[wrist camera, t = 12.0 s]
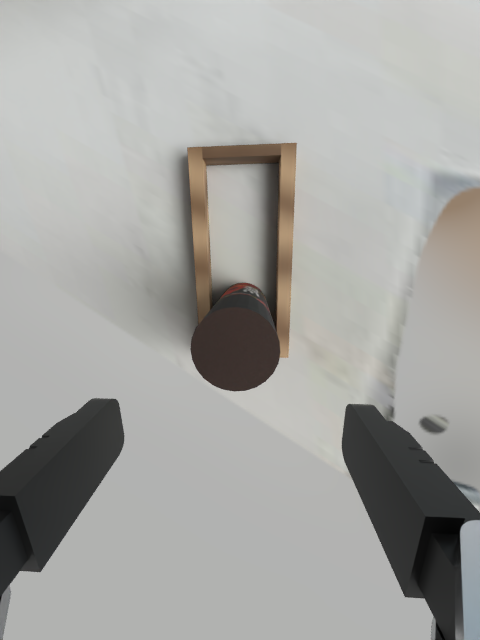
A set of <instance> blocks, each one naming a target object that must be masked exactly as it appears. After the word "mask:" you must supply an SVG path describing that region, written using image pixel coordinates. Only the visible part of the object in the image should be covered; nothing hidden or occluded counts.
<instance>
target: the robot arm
mask: <svg viewBox="0 0 480 640" xmlns="http://www.w3.org/2000/svg"><path fill="white" fill-rule="evenodd" d="M123 444H124V431H123V425H122V419H121V413H120V407H119V403H118V401H117V400H116V399H97V398H95V399H91V400H90V401H88V402H87V403H86V404H85V405H84V406H83V407H82V408H81V409H79V410H78V411H77V412H76V413H74V414H72V415H70V416H68V417H67V418H65V419H63V420H61V421H60V422H58V423H56V424H55V425H54V426H53V427H52V428H51V429H49V430H48V431H47V432H46V433H45V434H44V435H42V438H39V439H38V440H37V441H35V442H34V443H33V444H32V445H31V446H30V448H29V449H26V450H25V451H24V452H23V453H21V454H20V455H19V456H18V457H16V458H15V459H14V460H13V461H12V462H11V463H9V464H8V465H7V466H6V467H5V468H4V469H3V470H1V471H0V640H3V634H4V629H5V623H6V618H7V613H8V607H9V602H10V595H11V590H10V586H9V585H10V583H11V582H12V581H13V579H14V578H15V577H16V575H17V574H18V572H19V571H31V572H41V571H42V569H43V567H44V566H45V565H46V563H47V562H48V560H49V559H50V557H51V556H52V554H53V553H54V551H55V550H56V548H57V547H58V545H59V544H60V542H61V541H62V539H63V538H64V536H65V535H66V533H67V532H68V530H69V529H70V527H71V526H72V524H73V523H74V521H75V520H76V519H77V517H78V515H79V514H80V513H81V511H82V510H83V508H84V507H85V505H86V503H87V502H88V501H89V499H90V498H91V496H92V495H93V493H94V492H95V490H96V489H97V487H98V486H99V484H100V483H101V481H102V480H103V478H104V477H105V475H106V474H107V472H108V471H109V469H110V468H111V466H112V465H113V463H114V462H115V460H116V459H117V458H118V456H119V454H120V452H121V450H122V447H123ZM342 452H343V457H344V461H345V463H346V466H347V468H348V470H349V472H350V475H351V477H352V479H353V481H354V484H355V486H356V488H357V490H358V492H359V495H360V497H361V499H362V502H363V504H364V506H365V508H366V511H367V513H368V515H369V517H370V519H371V522H372V524H373V526H374V528H375V531H376V533H377V535H378V538H379V540H380V542H381V544H382V546H383V549H384V551H385V553H386V555H387V558H388V560H389V562H390V564H391V567H392V569H393V571H394V573H395V576H396V578H397V580H398V582H399V584H400V587H401V589H402V591H403V594H404V596H405V597H413V598H425V600H426V602H427V604H428V606H429V608H430V610H431V612H432V614H433V616H434V617H433V620H432V626H431V640H480V513H479V511H478V510H477V509H476V508H475V507H474V506H473V505H472V503H471V502H470V501H469V500H468V499H467V498H466V497H465V496H464V494H463V493H462V492H461V491H460V490H459V489H458V488H457V486H456V485H455V484H454V483H453V482H452V481H451V480H450V479H449V477H448V476H447V475H446V474H445V473H444V472H443V471H442V470H441V468H440V467H439V466H438V465H437V464H434V462H433V459H432V458H431V457H430V456H429V455H428V454H427V453H426V451H423V449H422V447H421V446H420V445H419V444H418V442H417V441H416V440H415V439H414V438H413V437H412V435H410V433H409V432H407V431H405V430H404V429H403V428H401V427H400V426H398V425H397V424H396V423H394V422H393V421H386V420H385V418H384V417H383V416H382V415H381V413H380V412H379V411H378V410H377V408H376V407H375V406H374V405H364V404H348V405H347V407H346V411H345V420H344V428H343V437H342Z"/></svg>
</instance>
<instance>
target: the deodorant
mask: <svg viewBox="0 0 480 640" xmlns="http://www.w3.org/2000/svg"><path fill="white" fill-rule="evenodd" d="M191 354H192V360H193V362H194V364H195V367H196V369H197V370H198V372H199V373H200V374H201V375H202V377H203V378H204V379H205V380H207V381H208V382H209V383H211V384H212V385H214V386H216V387H219V388H221V389H223V390H230V391H246V390H249V389H252V388H255V387H257V386H259V385H260V384H262V383H264V382H265V381H266V380H267V379H268V378H269V377H270V376H271V375H272V374H273V372H274V371H275V369H276V367H277V365H278V362H279V357H280V341H279V338H278V335H277V332H276V329H275V326H274V323H273V319H272V316H271V313H270V310H269V307H268V304H267V301H266V298H265V295H264V294H263V293H262V291H261V290H260V289H259V288H257V287H256V286H254V285H252V284H249V283H238V284H235V285H233V286H231V287H230V288H228V289H227V290H226V292H225V293H224V294H223V295H222V296H221V298H220V299H219V300H218V301H217V303H216V304H215V305H214V306H213V307H212V309H211V310H210V311H209V312H208V314H207V315H206V316H205V317H204V318H203V320H202V321H201V322H200V324H199V325H198V326H197V327H196V329H195V332H194V334H193V337H192V341H191Z"/></svg>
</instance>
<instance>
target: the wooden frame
mask: <svg viewBox="0 0 480 640" xmlns="http://www.w3.org/2000/svg"><path fill="white" fill-rule="evenodd" d="M296 145H297V143H282V144H259V145H236V146H212V147H189V148H187V149H188V165H189V181H190V197H191V213H192V229H193V245H194V261H195V277H196V293H197V309H198V325H199V324H200V322H201V321H202V320H203V318H204V317H205V316H206V315H207V314H208V312H209V311H210V310H211V309H212V307H213V302H212V280H211V259H210V237H209V215H208V193H207V172H206V165H231V164H257V163H279V185H278V229H277V273H276V317H275V329H276V332H277V335H278V338H279V341H280V357H281V358H288V353H289V327H290V301H291V275H292V249H293V223H294V197H295V171H296Z"/></svg>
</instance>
